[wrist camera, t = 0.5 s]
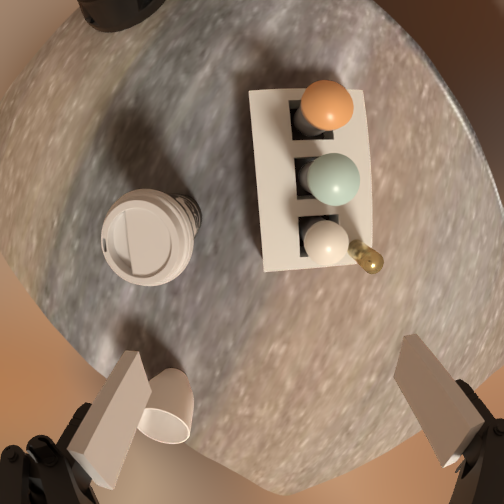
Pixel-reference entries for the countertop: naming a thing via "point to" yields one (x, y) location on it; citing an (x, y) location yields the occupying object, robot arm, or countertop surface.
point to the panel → (284, 182)
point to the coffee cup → (150, 235)
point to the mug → (168, 408)
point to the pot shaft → (365, 256)
